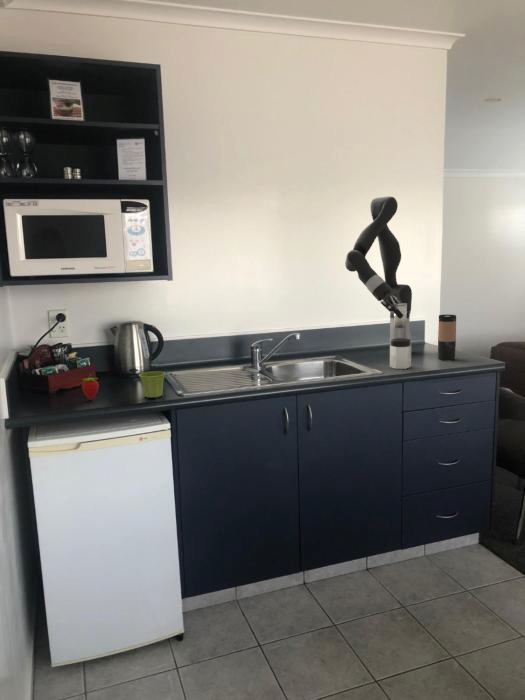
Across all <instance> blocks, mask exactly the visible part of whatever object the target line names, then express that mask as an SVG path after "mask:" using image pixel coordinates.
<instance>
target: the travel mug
mask: <svg viewBox="0 0 525 700" xmlns="http://www.w3.org/2000/svg"><path fill="white" fill-rule="evenodd" d="M437 331H438V335H437V353H438V354H437V359H438V360H439V359H440V360H439V361H444V360H451V361H455V360H454V359H456V345H457V315H456V314H439V315H438V329H437Z"/></svg>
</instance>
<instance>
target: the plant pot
mask: <svg viewBox="0 0 525 700" xmlns="http://www.w3.org/2000/svg"><path fill="white" fill-rule="evenodd" d="M165 375H166V372H165V371H158V370H157V371H146V372H142V373H140V374H138V377H140V378H139V379H140V381H141V385H142V388H143V394H144V397H145V396H146V397H158V396H161V395H162V396H163V391H164V390H163V389H164V379H165ZM158 398H159V397H158Z"/></svg>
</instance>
